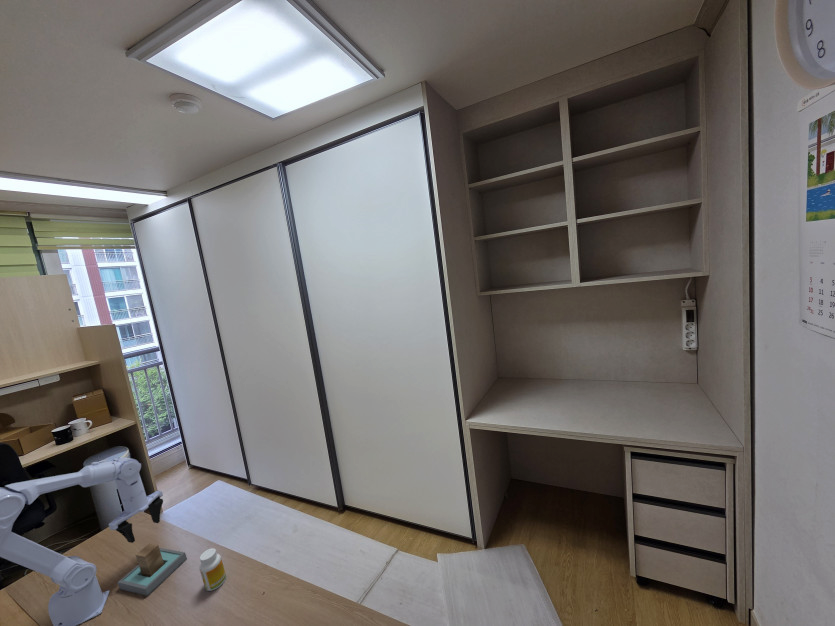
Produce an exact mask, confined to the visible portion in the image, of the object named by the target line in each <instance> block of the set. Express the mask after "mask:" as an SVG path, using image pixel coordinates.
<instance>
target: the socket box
mask: <svg viewBox="0 0 835 626" xmlns="http://www.w3.org/2000/svg"><path fill="white" fill-rule="evenodd" d="M159 549H160V552H161V555H162V559H163V562H164V565H163V566H162V567H161V568H160V569H159V570H158V571H156V572H155V573H154V574H153V575H152V576H151V577H150V578H149V577H145V576H142V573H141V570H140V567H139V564H137V565H136V566H135V567H134V568H133V569H132V570H130V571H129V572H128V573H126V574H125V575H124V576H123V577H122V578H120V580H118V581H117V584H118V588H119V590H121V591H124V592H125V591H126V592H129V593H133V594H137V595H141V596H146V597H149V596H150V595H151V594H153V592H154V591H155V590H156V589H158V588H159V586H161V584H163V583H164V582H165V580H167V579H168V578H169V577H170V576H171V575H172V574H173V573H174V572H176V570H177V569H179V568H180V567H181V566H182V565H183V564H184V563H185V562H186V561H187V560H188V557H187V554H186V552H185V551H179V550H174V549H169V548H163V547H159Z"/></svg>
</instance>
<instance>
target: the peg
mask: <svg viewBox="0 0 835 626" xmlns="http://www.w3.org/2000/svg"><path fill="white" fill-rule="evenodd" d="M159 548H160V546H159V545H158V544H154V543H148V544H147V545H145V547H143V548H142V549H141V550H139V551H138V552H136V554H135V557H136V560H137V563H138V564H137V565H139V567H140V570H141V573H142V576H145V577H149V578H150V577H151V576H152V575H153V574H154V573H155V572H156V571H158V570H159V569H160V568H161V567H162V566H163V565H164V562H163V559H162V555H161V552H160V549H159Z"/></svg>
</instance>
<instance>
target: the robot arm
mask: <svg viewBox="0 0 835 626" xmlns="http://www.w3.org/2000/svg"><path fill="white" fill-rule="evenodd" d="M141 469H142V463H140V462H139V461H138V460H137V459H135V458H129V457H126V456H125V457H123V456H122V457H116V458H113V459H112V460H110V461H106V462H99V461H93V462H91V464H90V465H85V466H84V467H83V468H81V469H80V470H79V471H77V472H72V473H70V472H69V473H66V474H59V475H55V476H54V475H53V476H48V477H41V478H37V479H30V480H25V481H20V482H14V483H13V482H12V483H10V484H6V485H5V487H0V558H1V559H5V560H7V561H9V562H11V563H14V564H16V565H17V564H18V565H20V566H22V567H24V568H28V569H29V570H32V571H34V572H37V573H39V574H42V575H44V576H47V577H49V578H50V580H51V582H52V583H54V584H56V585H59V588H58V591H56V592H55V593H53V594H52V595H51V596H50V598H49V601H48V604H47V611H48V615H49V618H50V621H51V623H52V625H53V626H79V625H81V624H82V623H84V622H86V621H89V620H90V619H92V618H95V617H97V616H99V615H100V614H102V612H103V610H104V609H105V605H106V602H107V599H108V597H109V594H110V589H109V590H106V591H104V592H103V591H102V589H101V586H100V583H99V581H98V580H99V579H98V578H97V575H96V574H97V571H98V570H97V565H96V564H94V563H93V562H89V561H86V560H84V559H83V558H81V557H79V556H77V555H71V556H66V555H64V554H61V553H59V552H57V551H55V550H54V549H53V550H52V549H50V548H48V547H46V546H43V545H41V544H39V543H37V542H35V541H33V540H30V539H28V538H26V537H24V536H21V535H19V534H17V533H16V532H13V531H12V529H13V527H14V523H15V521H16V520H17V518H18V517H19V515H20V514H21V512H22V510H23V509H24V507H25V504H26V505H27V506H28V505H29V506H30V505H31V504H33V503H34V501H36V499H37V498H39V496H40V495H43V494H47V493H52V492H54V491H58V490H62V489H66V488H69V487H74V486H77V485H79V486H81V487H82V488H89V487H92V486H96V485H101V484H105V483H109V482H113V481H115V485H116V488H117V492H118V495H119V498H120V500H121V504H122V507H123V511H122V512H121V513H120V514H119V515H118V516H117V517H116V518H114V519H113V520H112V521H111V522H110V523H108V527H109V531H116V532H118V533H119V534H121V535H122V536H123V537H124V538H125V540H126V541H127V542H128V543H130V544H132V543H134V542H135V541H136V538H135V535H134V532H133V523H130V522H129V521H128V520H130V519H131V518H133V517H134V516H135V515H137V514H139V513H141V512H144V511H146V510H147V509H148V512H149V513H150V517H151V520H152V522H153V523H154V524H159V523H160V522H161V509H162V506H163V504H164V499H163V498H162V497H163V496H164V494H163V491H162V490H156V491H154V492H153V493H151V494H149V495H147V494H146V490H145V487H144V484H143V481H142V478H141V474H140V471H141Z"/></svg>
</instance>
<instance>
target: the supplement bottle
mask: <svg viewBox="0 0 835 626" xmlns="http://www.w3.org/2000/svg"><path fill="white" fill-rule="evenodd" d="M199 561H200V565H199V571H200V575H201V579H202V582H203V583H202V584H203V585H204V589H205V590H206V591H209V592H211V591H214V590H217V589H219V588H220V587H221V586H222V585H223V584H224V583H225V581H226V580H227V579H226V578H227V573H226V570H225V567H224V564H223V560H222V556H221V555H220V554H219V553H217V549H216V548H214V547H213V548H212V547H211V548H209V549H207V550H205V551H203V553H202V554H201V555H200V557H199Z"/></svg>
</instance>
